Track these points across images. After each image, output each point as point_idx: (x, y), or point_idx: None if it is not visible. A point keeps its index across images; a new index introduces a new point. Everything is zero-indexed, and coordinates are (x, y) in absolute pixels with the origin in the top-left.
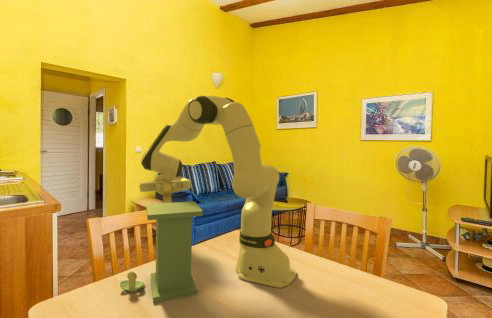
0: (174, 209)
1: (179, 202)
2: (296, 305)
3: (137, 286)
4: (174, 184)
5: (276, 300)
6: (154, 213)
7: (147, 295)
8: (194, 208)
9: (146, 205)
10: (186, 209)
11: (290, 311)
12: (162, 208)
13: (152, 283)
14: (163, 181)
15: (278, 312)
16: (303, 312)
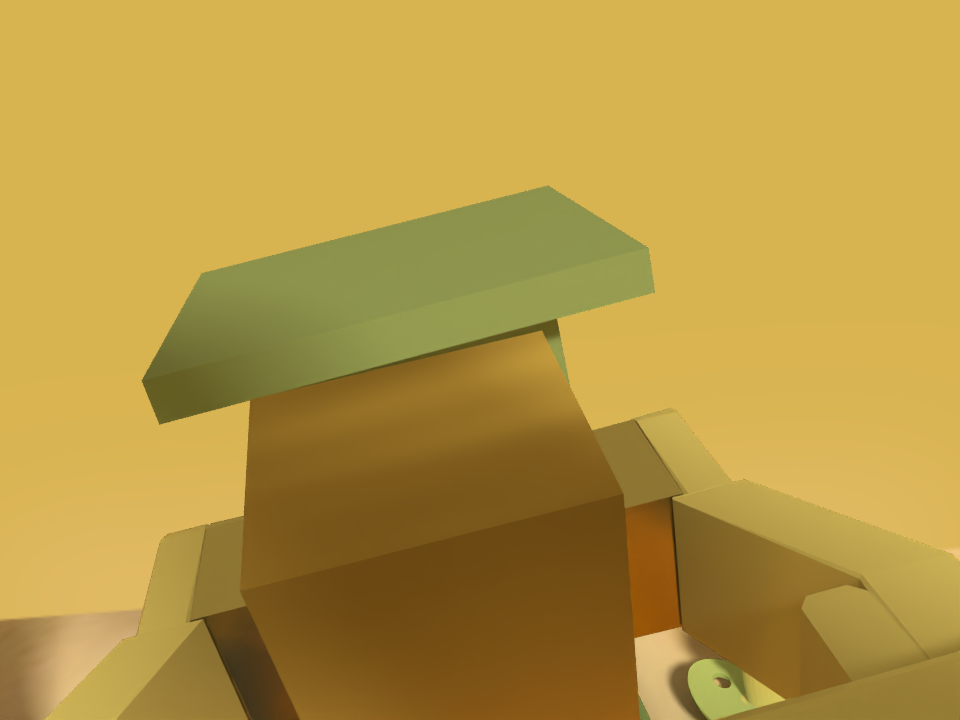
0: (383, 248)
1: (313, 330)
2: (7, 652)
3: (734, 702)
4: (173, 533)
5: (53, 674)
6: (512, 200)
7: (650, 672)
8: (234, 284)
9: (628, 236)
10: (298, 264)
11: (59, 623)
12: (472, 238)
13: (641, 710)
14: (525, 351)
15: (104, 615)
16: (21, 622)
